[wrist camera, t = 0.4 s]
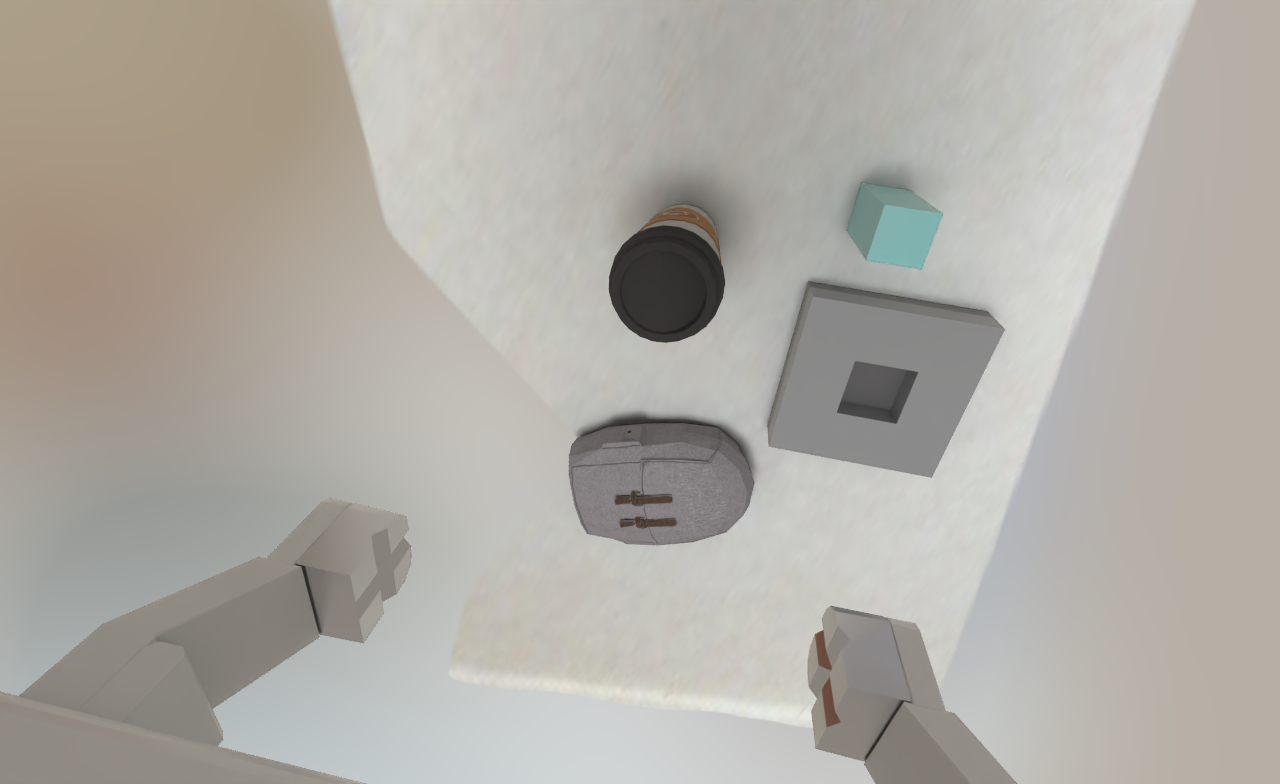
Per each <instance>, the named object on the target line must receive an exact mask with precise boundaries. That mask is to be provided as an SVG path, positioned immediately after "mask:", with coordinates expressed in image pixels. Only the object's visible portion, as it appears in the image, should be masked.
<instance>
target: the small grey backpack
mask: <svg viewBox="0 0 1280 784" xmlns="http://www.w3.org/2000/svg"><path fill="white" fill-rule="evenodd" d="M569 478H570V484H571V489H572V495H573V500H574V505H575V508H576V511H577V514H578V516H579V519H580V522H581V524H582V526H583V528H584V529H585V531H586V533H587V534H591V535H596V536H601V537H606V538H611V539H615V540H618V541H621V542H624V543H625V544H640V545H666V544H677V543H688V542H695V541H698V540H702V539H705V538H709V537H712V536H715V535H719V534H722V533H725V532H727V531H728V530H729V529H730V528H731V527H732V526H733V525H734V524H735V523H736V522H737V521H738V520H739V519H740V518H741V517H742V516H743V515H744V513H745V511H746V510H747V508H748V506H749V503H750V499H751V494H752V490H753V485H754V480H753V477H752V475H751V472H750V469H749V467H748V464H747V461H746V459H745V457H744V456H743V454H742V453H741V451H740V449H739V446H738V444H737V443H736V442H734V441H733V440H732V439H731V438H730V437H728V436H727V435H726V434H725V433H724V432H722V431H721V430H720V429H719V428H718V427H710V426H702V425H694V424H686V423H647V424H635V425H624V426H613V427H607V428H604V429H602V430H599V431H596V432H593V433H591V434H588V435H585V436H582V437H580V438H577V439H576V440H575V442H574V443H573V444H572V446H571V450H570V454H569Z"/></svg>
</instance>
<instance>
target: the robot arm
mask: <svg viewBox="0 0 1280 784" xmlns="http://www.w3.org/2000/svg"><path fill="white" fill-rule="evenodd" d="M408 530H409V527H408V521H407V517H406V516H404V515H401V514H396V513H393V512H389V511H385V510H380V509H376V508H372V507H368V506H364V505H360V504H356V503H350V502H346V501H342V500H337V499H333V498H329V499H327V500H325V501H323V502H321V503H320V504H319V505H318V506H317V507H316V508H315V509H314V510H313V511H312V512H311V513H310V514H309V515H308V516H307V517H306V519H304V520H303V521H302V522H301V524H300V525H299V526H298V527H297V528H296V529H295V530H294V531H293V532H292V533H291V534H290V535H289V536H288V537H287V538H286V539H285V540H284V541H283V542H282V543H281V544H280V545H279V546H278V547H277V548H276V549H275V550H274V551H273V552H272V553H271V554H270V555H269V556H268V557H267V558H261V557H257V558H255V559H253V560H250V561H248V562H246V563H243V564H241V565H239V566H236V567H234V568H232V569H230V570H227V571H225V572H222V573H220V574H218V575H216V576H213V577H211V578H209V579H206V580H204V581H202V582H199V583H197V584H195V585H192V586H190V587H188V588H185V589H183V590H181V591H179V592H176V593H174V594H171V595H169V596H167V597H164V598H162V599H160V600H158V601H155V602H153V603H150V604H148V605H146V606H144V607H141V608H139V609H137V610H134V611H132V612H130V613H127V614H125V615H123V616H120V617H118V618H116V619H113V620H111V621H109V622H106V623H104V624H102V625H101V626H99V627H98V628H97V629H96V630H95V631H94V632H93V633H91V634H90V635H89V636H88V637H87V638H86V639H84V640H83V641H82V642H81V643H80V644H79V645H77V646H76V647H75V648H74V649H73V650H72V651H70V652H69V653H68V654H67V655H66V656H65V657H63V658H62V659H61V660H60V661H59V662H58V663H57V664H55V665H54V666H53V667H52V668H51V669H50V670H48V671H47V672H46V673H45V674H44V675H43V676H42V677H40V678H39V679H38V680H37V681H36V682H34V683H33V684H32V685H31V686H30V687H29V688H27V689H26V690H25V691H24V692H23V693H22V694H21V695H19V696H16V695H12V694H8V693H4V692H0V784H365V783H361V782H357V781H353V780H349V779H345V778H341V777H337V776H333V775H329V774H325V773H321V772H317V771H313V770H309V769H306V768H302V767H298V766H294V765H290V764H285V763H282V762H278V761H274V760H270V759H266V758H262V757H258V756H254V755H250V754H246V753H242V752H238V751H234V750H230V749H226V748H222V747H218V745H219V744H220V743H221V741H222V740H223V730H222V728H221V726H220V724H219V722H218V720H217V718H216V716H215V714H214V711H213V708H215V707H216V706H218V705H219V704H221V703H222V702H224V701H225V700H227V699H228V698H229V697H231V696H233V695H234V694H236V693H237V692H238V691H240V690H241V689H243V688H244V687H246V686H247V685H249V684H250V683H252V682H253V681H255V680H256V679H258V678H259V677H261V676H262V675H264V674H265V673H267V672H268V671H270V670H271V669H273V668H274V667H276V666H277V665H279V664H280V663H282V662H283V661H285V660H286V659H288V658H289V657H291V656H292V655H294V654H295V653H297V652H298V651H300V650H301V649H303V648H304V647H306V646H307V645H309V644H310V643H312V642H313V641H314V640H316V639H317V638H319V637H320V636H319V634H320V635H325V636H330V637H335V638H340V639H345V640H350V641H355V642H360V643H364V642H365V641H366V639H367V638H368V636H369V635H370V633H371V632H372V630H373V629H374V627H375V626H376V624H377V623H378V621H379V620H380V618H381V617H382V615H383V614H384V611H383V601H385V600H387V599H388V598H390V597H392V596H394V595H396V594H397V593H398V591H399V589H400V588H401V586H402V584H403V583H404V582H405V579H406V576H407V574H408V571H409V568H410V565H411V557H412V553H411V546H410V544H409V543H408V542H407V541H406V540H405V539H404V536H405V534H406V533H407V531H408ZM822 623H823V630H822V631H820V632H818V633H816V634H815V635H814V638H813V641H812V643H811V646H810V650H809V656H808V683H809V688H810V689H811V691H812V692H813V693H814V695H815V696H816V698H817V700H816V702H815V704H814V706H813V708H812V711H811V713H812V721H813V730H814V739H815V748H816V749H819V750H823V751H826V752H830V753H834V754H838V755H842V756H845V757H849V758H853V759H857V760H861V761H864V762H865V763H864V765H865V766H866V768H867V770H868V772H869V773H870V775H871V777H872V778H873V780H874V782H875V783H876V784H1017V783H1016V782H1015V781H1014V779H1013V778H1012V777H1011V776H1010V775H1009V774H1008V773H1007V772H1006V770H1004V768H1003V767H1002V766H1001V765H1000V764H999V763H998V762H997V761H996V759H995V758H994V757H993V756H992V755H991V754H990V752H989V751H988V750H987V749H986V748H985V747H984V746H983V745H982V743H981V742H980V741H979V740H978V739H977V738H976V737H975V736H974V734H973V733H972V732H971V731H970V730H969V729H968V728H967V727H966V725H964V723H963V722H962V721H961V720H960V719H959V718H958V716H957V715H956V714H954V713H952V712H948V711H946V710H945V707H944V704H943V701H942V698H941V695H940V692H939V688H938V685H937V682H936V679H935V676H934V673H933V670H932V667H931V664H930V660H929V657H928V654H927V651H926V648H925V645H924V642H923V639H922V636H921V633H920V629H919V628H918V627H917V625H916V624H915V623H911V622H906V621H901V620H896V619H892V618H884V617H883V616H878V615H873V614H869V613H864V612H859V611H854V610H849V609H844V608H839V607H834V606H830V607H829V608H827V609H826V611H825V613H824V615H823V617H822Z"/></svg>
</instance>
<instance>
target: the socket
mask: <svg viewBox="0 0 1280 784" xmlns="http://www.w3.org/2000/svg"><path fill="white" fill-rule="evenodd" d="M1004 330H1005V329H1004V328H1003V327H1002V326H1001V325H1000V324H999V323H998V322H997V321H996V320H995V319H994V318H993V317H992V316H991V315H990V314H989V313H988V312H987V311H981V310H975V309H969V308H963V307H957V306H951V305H945V304H939V303H933V302H927V301H922V300H916V299H910V298H904V297H898V296H892V295H886V294H880V293H874V292H868V291H862V290H856V289H850V288H844V287H838V286H832V285H826V284H820V283H814V282H808V285H807V288H806V292H805V295H804V299H803V302H802V306H801V309H800V313H799V316H798V320H797V323H796V327H795V330H794V334H793V337H792V341H791V344H790V348H789V351H788V355H787V358H786V362H785V365H784V369H783V372H782V376H781V379H780V383H779V386H778V390H777V393H776V397H775V400H774V404H773V407H772V411H771V414H770V418H769V421H768V440H769V447H774V448H779V449H785V450H790V451H795V452H800V453H806V454H811V455H816V456H821V457H827V458H832V459H837V460H842V461H848V462H853V463H858V464H863V465H868V466H874V467H879V468H884V469H889V470H895V471H900V472H905V473H910V474H916V475H921V476H926V477H931V478H932V476H933V474H934V472H935V470H936V468H937V466H938V464H939V462H940V460H941V458H942V456H943V454H944V452H945V450H946V448H947V446H948V444H949V442H950V440H951V438H952V436H953V434H954V431H955V429H956V427H957V425H958V423H959V421H960V419H961V417H962V415H963V413H964V411H965V409H966V407H967V405H968V403H969V401H970V399H971V397H972V395H973V393H974V391H975V389H976V387H977V385H978V383H979V381H980V379H981V377H982V375H983V373H984V371H985V369H986V367H987V365H988V363H989V361H990V358H991V356H992V354H993V352H994V350H995V348H996V346H997V344H998V342H999V340H1000V338H1001V336H1002V334H1003V332H1004Z"/></svg>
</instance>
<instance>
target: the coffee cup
mask: <svg viewBox="0 0 1280 784" xmlns="http://www.w3.org/2000/svg"><path fill="white" fill-rule="evenodd" d="M724 286H725V279H724V272H723V267H722V265H721V256H720V247H719V240H718V236H717V230H716V227H715V225H714V223H713V221H712V220H711V218H710V217H709V216H708V215H707V214H706V213H705V212H704V211H702V210H701V209H700V208H697V207H695V206H692V205H685V204H679V205H673V206H670V207H668V208H666V209H664V210H662V211H661V212H660V213H659V214H657V215H656V216H655V217H654V218H653V219H651V220H650V221H649V222H648V223H647V224H646V225H645V226H644V227H643V228H642V229H641V230H640V231H639V232H638V233H636V234H634V235H633V236H632V237H631V238H630V239H629V240H628V241H626V242H625V243H624V244H623V245H622V247H621V248H620V250H619V251H618V253H617V255H616V256H615V259H614V262H613V265H612V268H611V272H610V275H609V293H610V297H611V301H612V305H613V306H614V308H615V310H616V312H617V314H618V316H619V318H620V319H621V321H622V322H623V323H624V324H625V325H626V326H627V327H628V328H629V329H630V330H631V331H633V332H634V333H636V334H637V335H639V336H640V337H643V338H646V339H648V340H651V341H656V342H664V343H667V342H675V341H680V340H682V339H685V338H688V337H690V336H693V335H695V334H696V333H698V332H699V331H700V330H702V329H703V328H705V327H706V326H707V325H708V323H709V322H710V321H711V320H712V319H713V317H714V316H715V314H716V312H717V310H718V308H719V305H720V303H721V301H722V298H723V293H724Z"/></svg>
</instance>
